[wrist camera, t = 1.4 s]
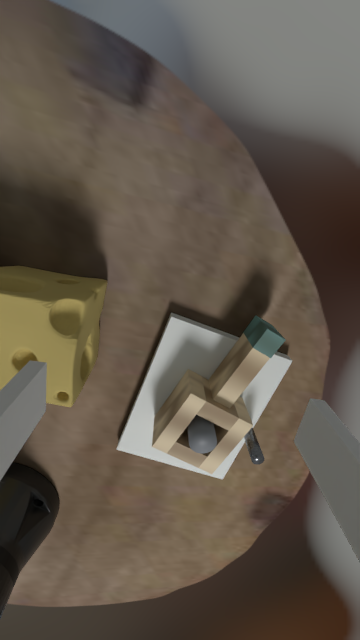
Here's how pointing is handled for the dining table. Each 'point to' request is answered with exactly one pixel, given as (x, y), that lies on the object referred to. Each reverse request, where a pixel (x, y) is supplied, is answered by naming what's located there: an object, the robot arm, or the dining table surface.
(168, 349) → the base
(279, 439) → the dining table surface
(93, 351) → the cheese
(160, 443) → the wooden frame with handle
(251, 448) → the dowel
